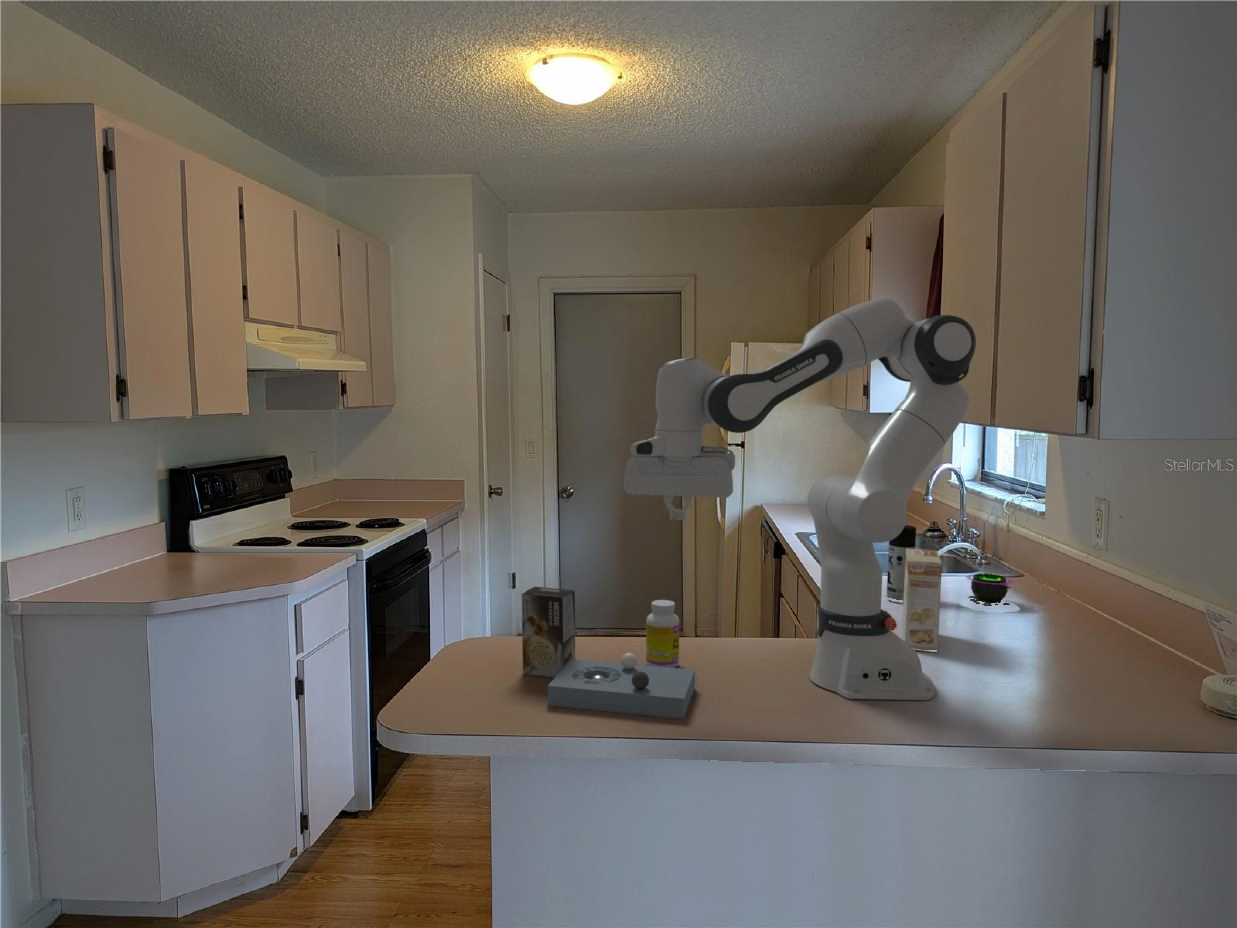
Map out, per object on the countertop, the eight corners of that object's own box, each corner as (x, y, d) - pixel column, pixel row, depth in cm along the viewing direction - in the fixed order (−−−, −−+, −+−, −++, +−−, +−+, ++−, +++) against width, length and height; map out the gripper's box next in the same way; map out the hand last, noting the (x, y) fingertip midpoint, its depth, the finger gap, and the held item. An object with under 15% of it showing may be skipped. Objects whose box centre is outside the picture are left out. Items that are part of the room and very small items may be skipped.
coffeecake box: (938, 653, 165) (943, 563, 163) (903, 649, 167) (906, 560, 166) (934, 633, 179) (938, 549, 177) (901, 629, 182) (905, 547, 180)
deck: (694, 688, 145) (694, 669, 144) (683, 719, 131) (684, 698, 131) (570, 677, 150) (570, 659, 150) (547, 705, 136) (547, 685, 136)
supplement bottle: (676, 672, 153) (677, 608, 152) (643, 669, 154) (643, 606, 153) (680, 660, 160) (681, 599, 159) (648, 658, 161) (649, 597, 160)
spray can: (884, 596, 211) (886, 523, 209) (910, 597, 210) (913, 524, 208) (889, 603, 204) (892, 528, 203) (916, 604, 204) (919, 528, 202)
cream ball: (638, 666, 146) (638, 651, 145) (635, 672, 143) (635, 656, 143) (622, 665, 146) (622, 649, 146) (619, 670, 143) (619, 655, 143)
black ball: (650, 686, 136) (650, 669, 136) (647, 692, 133) (647, 675, 133) (633, 684, 137) (633, 668, 136) (630, 691, 134) (630, 674, 134)
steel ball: (612, 675, 142) (593, 669, 143) (607, 682, 139) (588, 676, 140) (607, 693, 143) (588, 686, 144) (602, 701, 140) (583, 694, 140)
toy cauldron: (1034, 611, 198) (1036, 569, 197) (984, 615, 194) (986, 572, 193) (991, 596, 213) (994, 556, 212) (944, 600, 209) (946, 559, 208)
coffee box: (577, 669, 155) (577, 589, 153) (563, 680, 149) (563, 597, 147) (535, 663, 158) (535, 585, 156) (520, 673, 152) (520, 593, 150)
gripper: (736, 446, 145) (735, 519, 146) (629, 443, 150) (628, 514, 151) (733, 448, 139) (732, 524, 140) (622, 445, 144) (621, 519, 145)
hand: (677, 519), depth 146 cm, fingers closed
